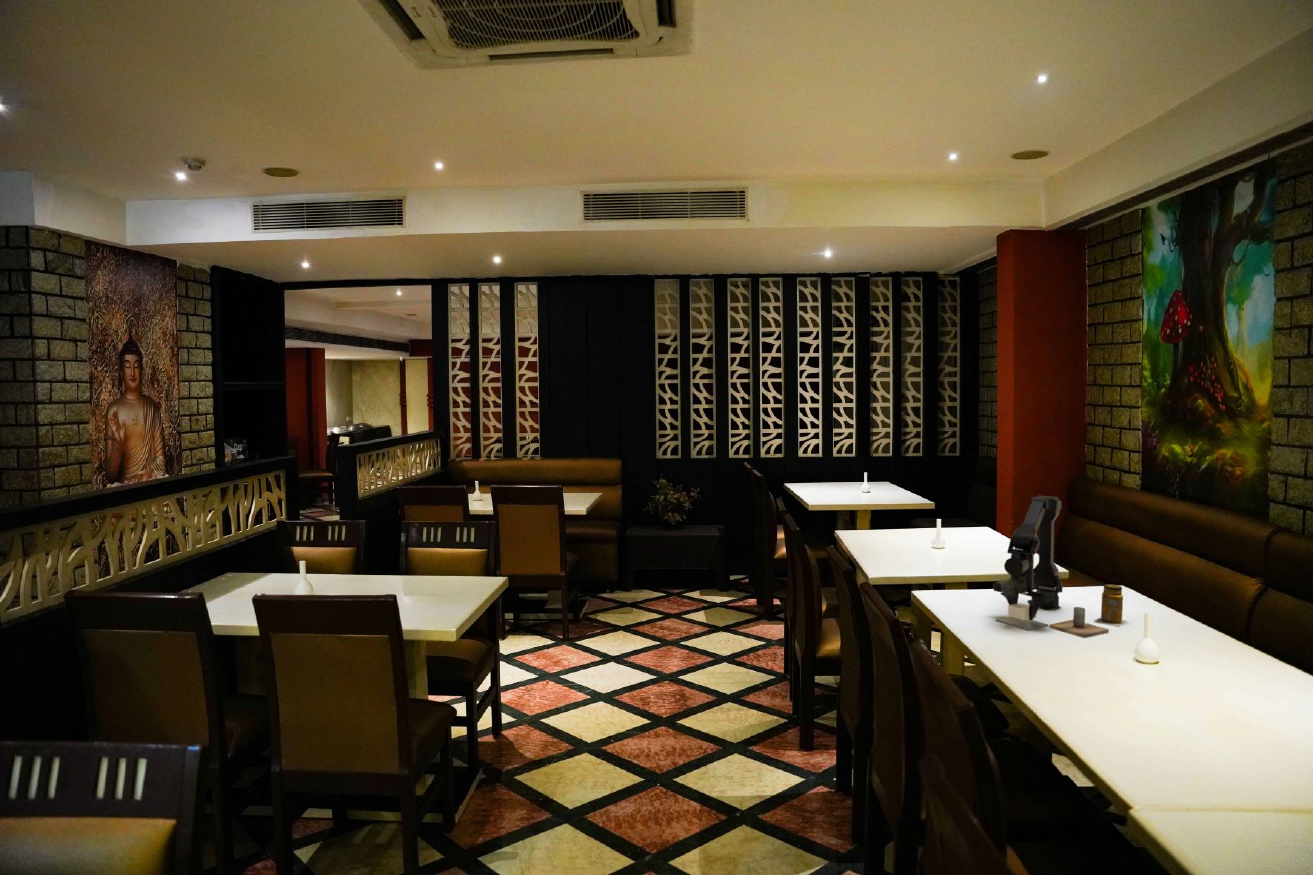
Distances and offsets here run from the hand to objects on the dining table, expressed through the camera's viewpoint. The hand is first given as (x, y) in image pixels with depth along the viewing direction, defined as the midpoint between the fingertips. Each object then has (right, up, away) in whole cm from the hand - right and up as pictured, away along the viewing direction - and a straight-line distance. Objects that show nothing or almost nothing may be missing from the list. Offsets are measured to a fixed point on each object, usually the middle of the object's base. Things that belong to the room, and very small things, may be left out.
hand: (1022, 617), depth 257 cm
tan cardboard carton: (0, 0, 0) cm, 0 cm away
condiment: (+30, -2, +3) cm, 30 cm away
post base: (+15, -2, -7) cm, 16 cm away
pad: (0, -2, 0) cm, 2 cm away
